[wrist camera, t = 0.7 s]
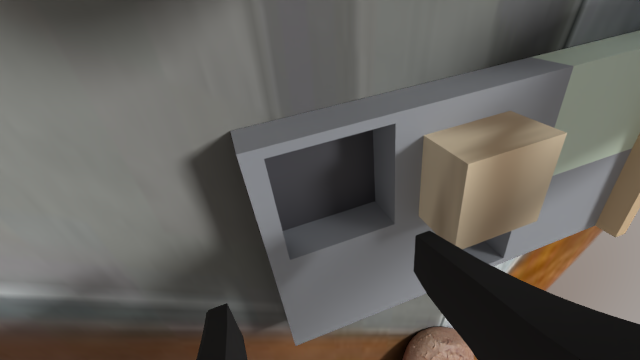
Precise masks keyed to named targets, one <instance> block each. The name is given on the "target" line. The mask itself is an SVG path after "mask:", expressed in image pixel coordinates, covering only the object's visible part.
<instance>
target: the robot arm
mask: <svg viewBox="0 0 640 360" xmlns="http://www.w3.org/2000/svg"><path fill="white" fill-rule="evenodd" d="M413 271H414V273H415V275H416V276H417V278H418V280H419V281H420V283H421V285H422V286H423V288H424V290H425V291H426V293H427V294H428V296H429V297H430V298H431V300H432V301H433V302H434V304H435V305H436V306H437V307H438V309H439V310H440V311H441V313H442V314H443V315H444V316H445V318H446V319H447V320H448V321H449V323H450V324H451V325H452V326H453V328H454V329H455V330H456V331H457V333H458V334H459V335H460V337H461V338H462V339H463V340H464V342H465V343H466V344H467V345H468V347H469V348H470V349H471V351H472V352H473V354H474V355H475V356H476V358H477V359H478V360H640V324H636V323H633V322H630V321H627V320H624V319H620V318H617V317H614V316H611V315H608V314H605V313H602V312H598V311H595V310H593V309H590V308H587V307H585V306H582V305H579V304H576V303H574V302H571V301H568V300H565V299H563V298H561V297H558V296H555V295H553V294H550V293H549V292H546V291H544V290H541V289H539V288H537V287H534V286H532V285H530V284H528V283H526V282H523V281H521V280H519V279H517V278H515V277H513V276H511V275H509V274H507V273H505V272H503V271H501V270H499V269H497V268H495V267H493V266H491V265H489V264H488V263H486V262H484V261H482V260H480V259H478V258H477V257H475V256H473V255H471V254H469V253H468V252H466V251H464V250H462V249H461V248H459V247H457V246H455V245H454V244H452V243H450V242H449V241H447V240H445V239H443V238H442V237H440V236H438V235H437V234H435V233H433V232H431V231H430V230H429V231H427V232H424V233H421V234H418V235H416V237H415V254H414V270H413ZM196 360H247V355H246V350H245V345H244V339H243V336H242V334H241V332H240V330H239V328H238V325H237V323H236V321H235V319H234V317H233V315H232V313H231V311H230V308H229V306H228V304H224V305H221V306H218V307H216V308H213V309H210V310H208V312H207V313H206V319H205V325H204V330H203V335H202V339H201V343H200V348H199V352H198V356H197V359H196Z"/></svg>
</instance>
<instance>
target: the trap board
mask: <svg viewBox="0 0 640 360" xmlns="http://www.w3.org/2000/svg"><path fill="white" fill-rule="evenodd" d="M508 111H512V112H515V113H518V114H520V115H523V116H525V117H528V118H530V119H533V120H535V121H538V122H541V123H543V124H546V125H548V126H551V127H553V128H556V129H558V130H561V131H564V132H566V133H567V135H566V138H565V141H564V144H563V147H562V150H561V153H560V155H559V158H558V161H557V164H556V167H555V170H554V173H553V176H552V179H551V182H550V185H549V188H548V191H547V193H546V196H545V199H544V202H543V205H542V208H541V211H540V214H539V217H538V220H537V221H536V222H533V223H531V224H528V225H525V226H523V227H520V228H517V229H515V230H512V231H509V232H507V233H504V234H502V235H499V236H496V237H494V238H491V239H488V240H486V241H483V242H481V243H478V244H475V245H473V246H470V247H467V248H465V249H462V250H464V251H466V252H468V253H469V254H471V255H473V256H475V257H477V258H478V259H480V260H482V261H484V262H486V263H488V264H489V265H491V266H495V265H498V264H500V263H503V262H505V261H508V260H510V259H513V258H515V257H518V256H520V255H523V254H525V253H528V252H530V251H533V250H535V249H538V248H540V247H543V246H545V245H548V244H550V243H553V242H555V241H558V240H560V239H563V238H565V237H568V236H570V235H573V234H575V233H578V232H580V231H582V230H585V229H587V228H590V227H592V226H597V227H599V228H600V229H602V230H604V231H605V232H607V233H609V234H611V235H612V236H614V237H617V236H620V235H623V234H625V233H626V231H627V229H628V227H629V225H630V224H631V222H632V220H633V219H634V217H635V215H636V213H637V211H638V210H639V208H640V30H639V31H635V32H631V33H627V34H623V35H619V36H614V37H610V38H606V39H602V40H598V41H594V42H590V43H586V44H582V45H578V46H574V47H570V48H566V49H562V50H558V51H554V52H550V53H545V54H541V55H537V56H533V57H529V58H525V59H521V60H517V61H513V62H509V63H505V64H501V65H497V66H493V67H489V68H485V69H481V70H476V71H472V72H468V73H464V74H460V75H456V76H452V77H448V78H444V79H440V80H436V81H432V82H428V83H424V84H420V85H416V86H411V87H407V88H403V89H399V90H395V91H391V92H387V93H383V94H379V95H375V96H371V97H367V98H363V99H359V100H355V101H351V102H347V103H342V104H338V105H334V106H330V107H326V108H322V109H318V110H314V111H310V112H306V113H302V114H298V115H294V116H290V117H286V118H282V119H278V120H273V121H269V122H265V123H261V124H257V125H253V126H249V127H245V128H241V129H237V130H233V131H230V132H231V136H232V140H233V144H234V148H235V152H236V156H237V159H238V162H239V166H240V169H241V172H242V175H243V178H244V182H245V185H246V188H247V191H248V194H249V198H250V201H251V204H252V207H253V210H254V214H255V217H256V220H257V223H258V226H259V230H260V233H261V236H262V239H263V242H264V246H265V249H266V252H267V255H268V259H269V262H270V265H271V268H272V271H273V275H274V278H275V281H276V284H277V287H278V291H279V294H280V297H281V300H282V303H283V307H284V310H285V313H286V316H287V319H288V323H289V326H290V329H291V332H292V335H293V339H294V342H295V345H296V346H297V345H299V344H302V343H304V342H306V341H309V340H311V339H314V338H316V337H319V336H321V335H324V334H326V333H329V332H331V331H334V330H336V329H339V328H341V327H344V326H346V325H349V324H351V323H354V322H356V321H359V320H361V319H364V318H366V317H369V316H371V315H374V314H376V313H379V312H381V311H384V310H386V309H389V308H391V307H394V306H396V305H398V304H401V303H403V302H406V301H408V300H411V299H413V298H416V297H418V296H421V295H423V294H426V291H425V290H424V288H423V286H422V285H421V283H420V281H419V280H418V278H417V276H416V275H415V273H414V271H413V270H414V254H415V237H416V235H418V234H421V233H424V232H427V231H429V230H430V231H431V232H433V233H435V232H434V231H433V230H432V229H431V228H430V227H429V226H428V225H427V224H426V223H425V222H424V221H423V220H422V219H421V218H420V217H419V201H420V186H421V170H422V155H423V140H424V135H427V134H430V133H434V132H437V131H441V130H444V129H448V128H451V127H455V126H458V125H462V124H465V123H469V122H472V121H476V120H479V119H483V118H486V117H490V116H493V115H497V114H500V113H504V112H508ZM435 234H436V233H435Z"/></svg>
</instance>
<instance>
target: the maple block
mask: <svg viewBox="0 0 640 360" xmlns="http://www.w3.org/2000/svg"><path fill="white" fill-rule="evenodd" d="M566 135H567V133H566V132H564V131H561V130H558V129H556V128H553V127H551V126H548V125H546V124H543V123H541V122H538V121H535V120H533V119H530V118H528V117H525V116H523V115H520V114H518V113H515V112H512V111H508V112H504V113H500V114H497V115H493V116H490V117H486V118H483V119H479V120H476V121H472V122H469V123H465V124H462V125H458V126H455V127H451V128H448V129H444V130H441V131H437V132H434V133H430V134H427V135H424V140H423V155H422V170H421V186H420V201H419V217H420V218H421V219H422V220H423V221H424V222H425V223H426V224H427V225H428V226H429V227H430V228H431V229H432V230H433V231H434V232H435V233H436V234H437V235H438V236H440V237H442V238H443V239H445V240H447V241H449V242H450V243H452V244H454V245H455V246H457V247H459V248H461V249H465V248H467V247H470V246H473V245H475V244H478V243H481V242H483V241H486V240H488V239H491V238H494V237H496V236H499V235H502V234H504V233H507V232H509V231H512V230H515V229H517V228H520V227H523V226H525V225H528V224H531V223H533V222H536V221H537V220H538V217H539V214H540V211H541V208H542V205H543V202H544V199H545V196H546V193H547V191H548V188H549V185H550V182H551V179H552V176H553V173H554V170H555V167H556V164H557V161H558V158H559V155H560V153H561V150H562V147H563V144H564V141H565V138H566Z"/></svg>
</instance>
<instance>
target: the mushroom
mask: <svg viewBox="0 0 640 360" xmlns="http://www.w3.org/2000/svg"><path fill="white" fill-rule="evenodd" d="M402 360H474V355H473V352H472V351H471V349H470V348H469V347H468V345H467V344H466V343H465V342H464V340H463V339H462V338H461V337H460V335H459V334H458V333H457V331H456V330H455V329H452V328H448V327H430V328H428V329H425V330H422V331H420V332H418V333H417V334H416V335H415V336H413V338H412V340H411V341H410V342H409V344H408V346H407V348H406V350H405V353H404V356H403V359H402Z"/></svg>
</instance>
